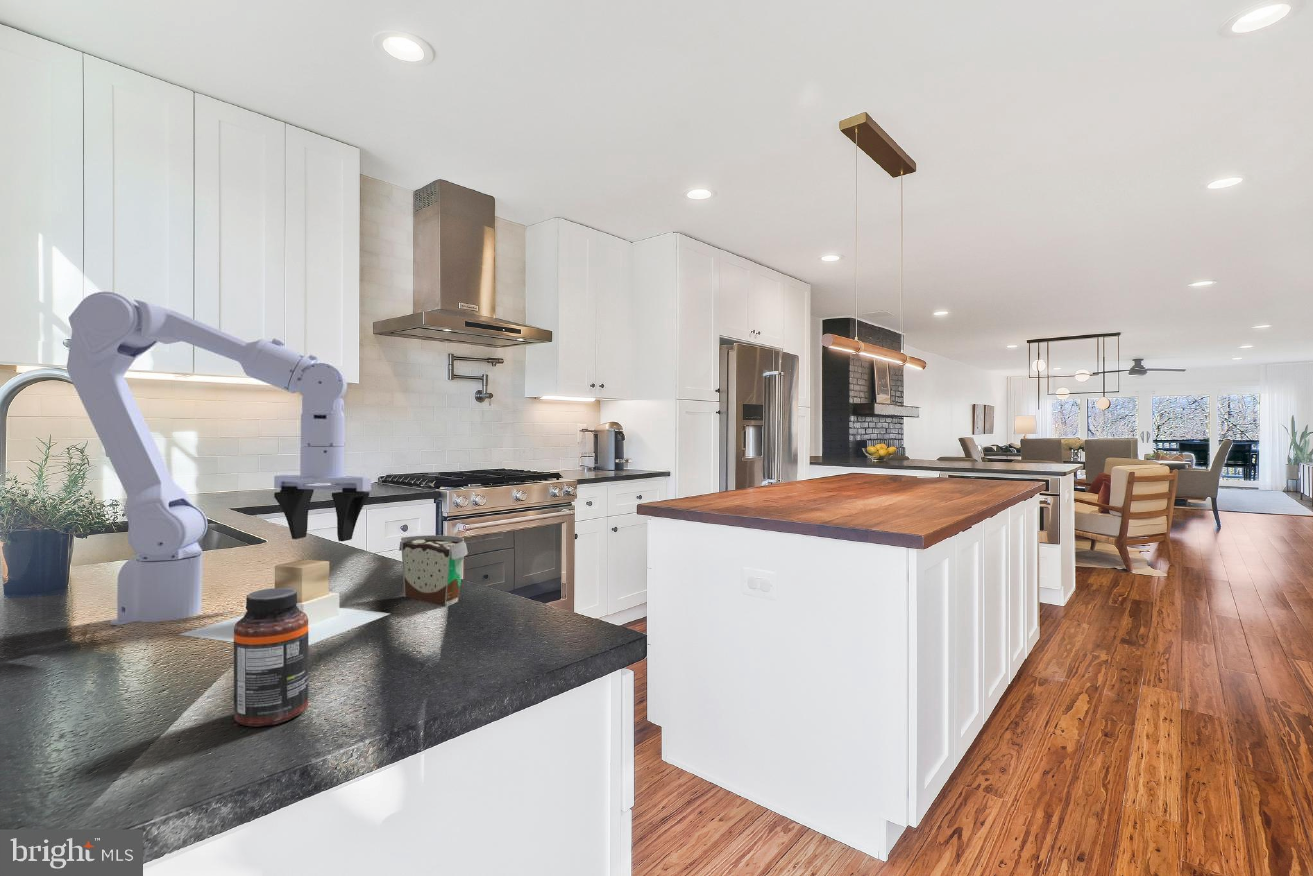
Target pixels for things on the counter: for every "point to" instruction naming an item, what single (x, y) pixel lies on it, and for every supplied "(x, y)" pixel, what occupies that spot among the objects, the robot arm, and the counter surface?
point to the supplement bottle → (270, 659)
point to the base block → (320, 608)
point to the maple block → (304, 578)
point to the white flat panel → (315, 632)
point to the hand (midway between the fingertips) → (321, 539)
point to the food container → (432, 567)
